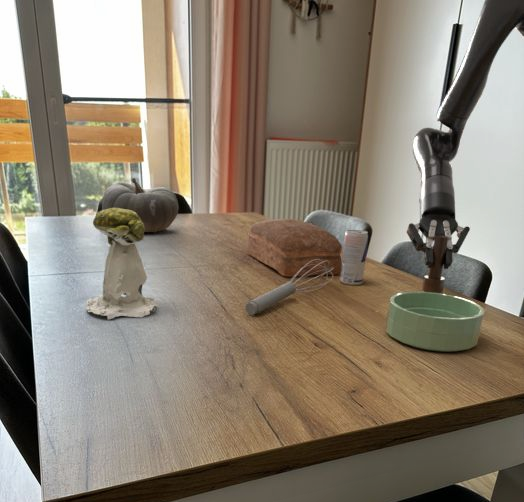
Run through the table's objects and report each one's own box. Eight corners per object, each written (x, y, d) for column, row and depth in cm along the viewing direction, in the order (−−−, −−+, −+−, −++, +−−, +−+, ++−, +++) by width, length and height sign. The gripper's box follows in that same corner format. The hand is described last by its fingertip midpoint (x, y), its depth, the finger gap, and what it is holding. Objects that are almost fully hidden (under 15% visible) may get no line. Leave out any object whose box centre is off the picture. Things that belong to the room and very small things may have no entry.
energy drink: (364, 281, 124) (371, 231, 119) (359, 286, 119) (365, 234, 114) (343, 278, 126) (348, 228, 121) (337, 283, 121) (342, 231, 116)
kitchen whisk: (230, 315, 96) (231, 282, 93) (313, 281, 122) (316, 255, 120) (257, 322, 93) (259, 288, 91) (337, 286, 120) (340, 259, 117)
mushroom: (83, 302, 99) (73, 204, 92) (149, 296, 104) (145, 203, 97) (90, 321, 89) (79, 213, 82) (163, 315, 94) (159, 212, 87)
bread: (282, 279, 122) (285, 230, 118) (243, 253, 148) (244, 212, 143) (345, 275, 128) (350, 229, 124) (297, 251, 153) (299, 211, 149)
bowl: (450, 322, 98) (455, 291, 96) (495, 353, 84) (503, 318, 82) (373, 322, 96) (377, 291, 94) (406, 355, 82) (412, 319, 79)
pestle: (437, 287, 117) (446, 234, 112) (446, 293, 112) (456, 238, 108) (418, 288, 116) (427, 234, 111) (427, 293, 112) (436, 238, 107)
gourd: (101, 215, 183) (106, 165, 175) (171, 227, 190) (179, 180, 183) (97, 235, 162) (102, 179, 154) (176, 248, 169) (185, 195, 162)
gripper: (409, 188, 114) (409, 254, 107) (474, 191, 112) (478, 259, 106) (402, 210, 121) (402, 273, 114) (463, 213, 119) (466, 277, 113)
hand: (438, 266), depth 110 cm, fingers closed on pestle, 3 cm apart
